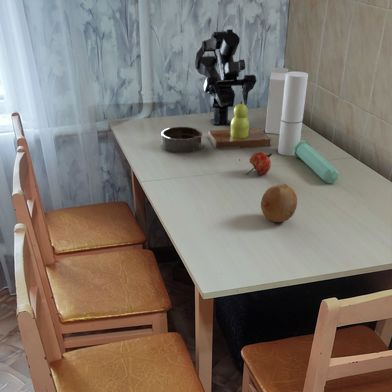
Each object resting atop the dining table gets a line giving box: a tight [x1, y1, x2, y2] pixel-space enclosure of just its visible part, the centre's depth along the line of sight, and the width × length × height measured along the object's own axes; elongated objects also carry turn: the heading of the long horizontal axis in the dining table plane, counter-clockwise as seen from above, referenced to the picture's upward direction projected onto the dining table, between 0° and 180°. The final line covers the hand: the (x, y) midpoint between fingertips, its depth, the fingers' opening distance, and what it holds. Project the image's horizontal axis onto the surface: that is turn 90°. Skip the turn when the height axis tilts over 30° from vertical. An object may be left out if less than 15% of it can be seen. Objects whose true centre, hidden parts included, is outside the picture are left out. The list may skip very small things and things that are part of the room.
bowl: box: [160, 126, 203, 154], centre depth 192 cm, size 14×14×5 cm
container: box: [294, 140, 339, 184], centre depth 175 cm, size 6×6×25 cm
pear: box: [230, 100, 250, 138], centre depth 193 cm, size 7×7×12 cm
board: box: [207, 127, 272, 149], centre depth 198 cm, size 13×20×2 cm, turn 101°
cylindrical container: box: [277, 71, 309, 157], centre depth 182 cm, size 7×7×25 cm
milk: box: [264, 67, 289, 135], centre depth 201 cm, size 6×6×22 cm
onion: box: [260, 183, 298, 223], centre depth 145 cm, size 10×10×10 cm
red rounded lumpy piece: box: [245, 151, 273, 176], centre depth 172 cm, size 7×7×10 cm
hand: (234, 105), depth 197 cm, fingers open, 9 cm apart
